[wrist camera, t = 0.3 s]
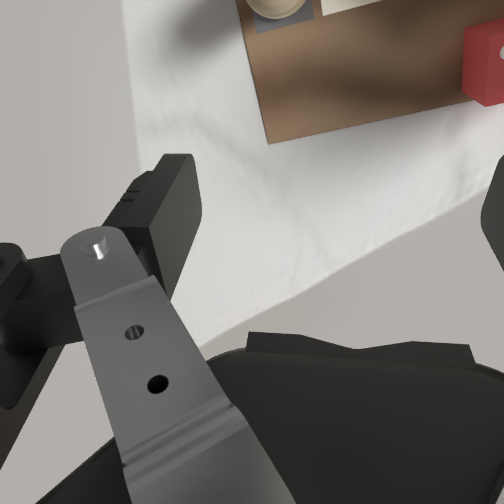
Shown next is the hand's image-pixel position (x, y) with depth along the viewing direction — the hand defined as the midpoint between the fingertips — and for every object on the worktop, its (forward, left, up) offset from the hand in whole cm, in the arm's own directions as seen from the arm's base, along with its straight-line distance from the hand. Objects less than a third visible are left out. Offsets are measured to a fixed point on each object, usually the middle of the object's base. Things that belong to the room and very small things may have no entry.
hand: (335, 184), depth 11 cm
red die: (+5, +15, -28) cm, 32 cm away
